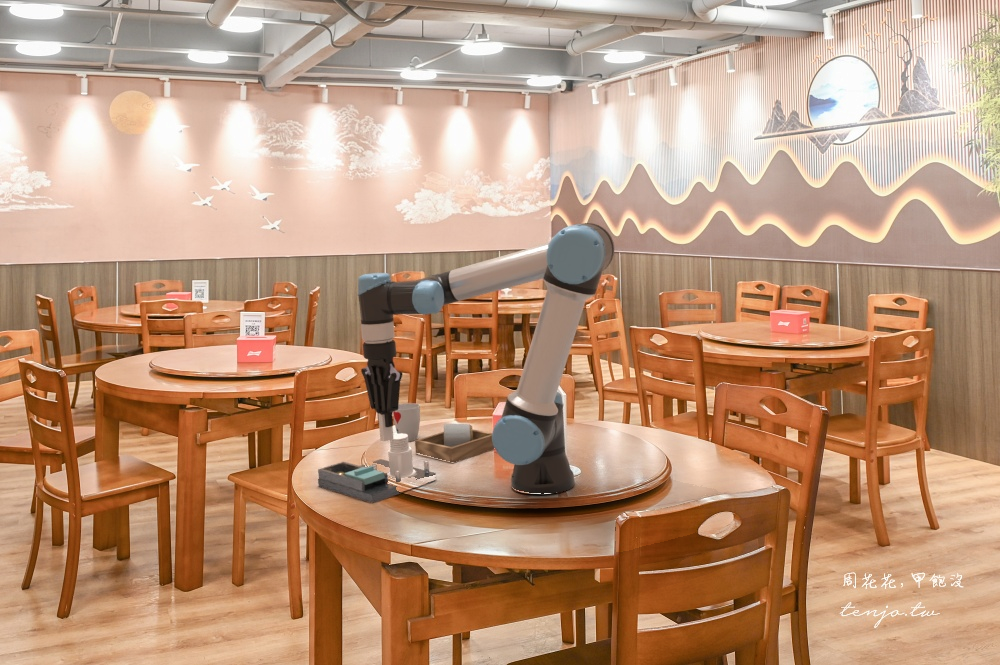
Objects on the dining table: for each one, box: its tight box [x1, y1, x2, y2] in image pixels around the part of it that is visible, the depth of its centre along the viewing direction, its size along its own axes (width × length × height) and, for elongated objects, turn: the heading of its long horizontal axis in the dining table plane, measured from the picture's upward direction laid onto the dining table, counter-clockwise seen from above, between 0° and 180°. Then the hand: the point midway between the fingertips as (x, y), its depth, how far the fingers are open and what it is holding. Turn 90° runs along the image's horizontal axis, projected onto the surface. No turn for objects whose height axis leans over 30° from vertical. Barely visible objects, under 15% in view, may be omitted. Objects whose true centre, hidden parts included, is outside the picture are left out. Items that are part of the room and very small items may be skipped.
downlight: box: [387, 433, 416, 478], centre depth 225 cm, size 8×7×10 cm
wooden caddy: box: [414, 428, 495, 463], centre depth 250 cm, size 15×17×4 cm
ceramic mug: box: [443, 423, 473, 447], centre depth 253 cm, size 11×8×8 cm
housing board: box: [317, 459, 437, 504], centre depth 226 cm, size 22×20×5 cm
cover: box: [344, 466, 385, 485], centre depth 219 cm, size 8×6×2 cm
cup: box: [392, 402, 421, 442], centre depth 266 cm, size 8×8×10 cm
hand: (387, 439), depth 211 cm, fingers closed
